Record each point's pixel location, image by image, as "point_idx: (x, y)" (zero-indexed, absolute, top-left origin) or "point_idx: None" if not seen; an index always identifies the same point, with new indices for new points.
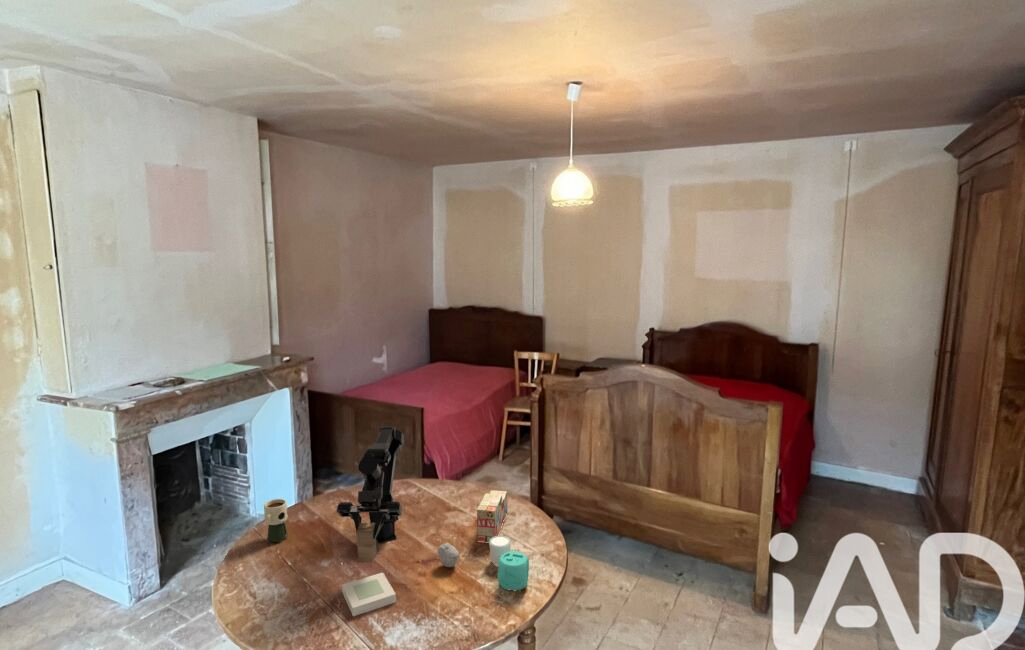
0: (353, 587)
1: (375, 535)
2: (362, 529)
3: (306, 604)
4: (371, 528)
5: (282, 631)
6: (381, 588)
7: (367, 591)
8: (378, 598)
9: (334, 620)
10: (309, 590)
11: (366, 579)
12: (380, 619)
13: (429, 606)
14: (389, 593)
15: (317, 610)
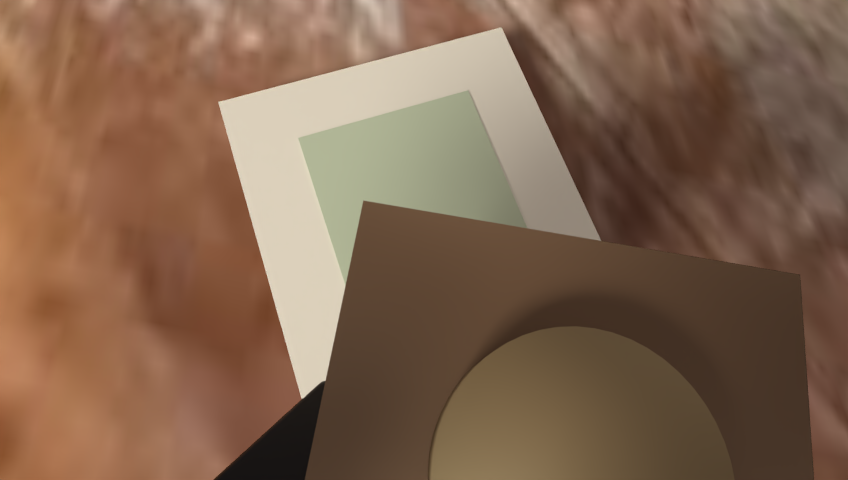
0: None
1: (303, 401)
2: (649, 327)
3: (799, 225)
4: (378, 340)
5: (837, 31)
6: (318, 178)
7: (419, 163)
8: (340, 81)
9: (589, 55)
10: (839, 378)
11: None
12: (335, 12)
13: (33, 57)
14: (262, 117)
15: (711, 155)
